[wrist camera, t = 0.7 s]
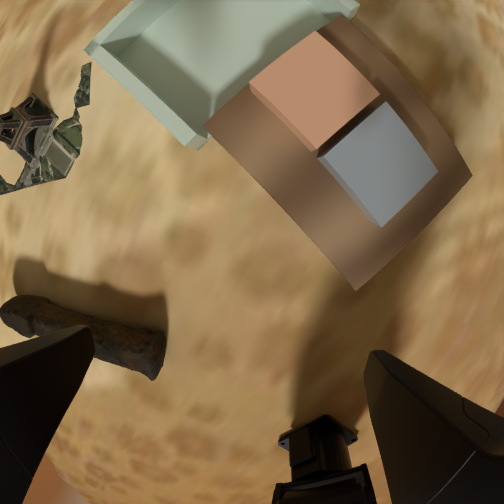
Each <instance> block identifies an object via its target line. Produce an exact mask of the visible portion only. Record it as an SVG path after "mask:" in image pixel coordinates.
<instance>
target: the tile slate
mask: <svg viewBox="0 0 504 504" xmlns="http://www.w3.org/2000/svg"><path fill="white" fill-rule="evenodd" d="M317 159H318V160H319V161H320V162H321V163H322V164H323V165H324V167H325V168H326V169H327V170H328V171H329V172H330V173H331V175H332V176H333V177H334V178H335V179H336V180H337V181H338V183H339V184H340V185H341V186H342V187H343V189H344V190H345V191H346V192H347V193H348V195H349V196H350V197H351V198H352V199H353V201H354V202H355V203H356V204H357V206H358V207H359V208H360V209H361V211H362V212H363V213H364V214H365V216H366V217H367V218H368V219H369V221H370V222H372V223H374V224H376V225H378V226H380V227H383V226H384V225H385V224H386V223H387V222H388V221H389V220H390V219H391V218H392V217H393V216H394V215H395V214H396V213H397V212H399V211H400V210H401V209H402V208H403V207H404V206H405V205H406V204H407V203H408V202H409V201H410V200H411V199H412V198H413V197H414V196H415V195H416V194H417V193H418V192H419V191H420V190H421V189H422V188H423V187H424V186H425V185H426V184H427V183H428V182H429V181H430V180H431V179H432V178H433V177H434V176H435V174H436V173H437V172H438V171H437V169H436V167H435V166H434V164H433V163H432V161H431V160H430V158H429V157H428V155H427V154H426V152H425V151H424V150H423V148H422V147H421V145H420V144H419V142H418V141H417V140H416V138H415V137H414V136H413V134H412V133H411V132H410V130H409V129H408V128H407V126H406V125H405V124H404V122H403V121H402V120H401V119H400V117H399V116H398V115H397V114H396V112H395V111H394V110H393V109H392V108H391V106H390V105H389V104H388V103H387V102H386V101H385V102H384V103H382V104H380V105H378V106H376V107H375V108H373V109H372V110H371V111H370V112H369V113H367V114H366V115H365V116H364V117H363V118H362V119H361V120H359V121H358V122H357V123H356V124H355V125H354V126H353V127H351V128H350V129H349V130H348V131H347V132H346V133H345V134H343V135H342V136H341V137H340V138H339V139H338V140H337V141H336V142H334V143H333V144H332V145H331V146H330V147H329V148H328V149H327V150H325V151H324V152H323V153H322V154H321V155H320V156H319V157H318V158H317Z"/></svg>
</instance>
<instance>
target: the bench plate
mask: <svg viewBox="0 0 504 504" xmlns="http://www.w3.org/2000/svg"><path fill="white" fill-rule="evenodd" d="M316 32H318V33H319V34H320V35H321V36H322V37H323V38H324V39H326V40H327V41H328V42H329V43H330V44H331V45H332V46H333V47H335V48H336V49H337V50H338V51H339V52H340V53H341V54H342V55H343V56H344V57H345V58H346V59H347V60H348V61H349V62H350V63H351V64H352V65H353V66H354V67H355V68H356V69H357V70H358V71H359V72H360V73H361V74H362V75H363V76H364V77H365V78H366V79H367V80H368V81H369V82H370V83H371V85H372V86H373V87H374V88H375V89H376V90H377V91H378V92H379V93H380V95H378V96H377V97H376V98H375V99H374V100H373V101H371V102H370V103H369V104H368V105H367V106H366V107H364V108H363V109H362V110H361V111H360V112H359V113H357V114H356V115H355V116H354V117H353V118H352V119H350V120H349V121H348V122H347V123H346V124H345V125H344V126H342V127H341V128H340V129H339V130H338V131H337V132H336V133H334V134H333V135H332V136H331V137H330V138H329V139H328V140H326V141H325V142H324V143H323V144H322V145H321V146H320V147H319V148H317V149H316V150H314V151H312V152H311V151H310V150H309V149H308V148H307V147H306V146H305V145H304V144H303V143H302V142H301V140H300V139H299V138H298V137H297V136H296V135H295V134H294V133H293V132H292V131H291V130H290V129H289V128H288V127H287V126H286V125H285V124H284V123H283V122H282V121H281V120H280V119H279V118H278V117H277V116H276V115H275V114H274V113H273V112H272V111H271V110H270V109H269V108H268V107H267V106H266V105H265V104H264V103H262V102H261V101H260V100H259V99H258V98H257V97H256V96H255V95H254V94H253V93H252V92H251V90H250V85H249V83H248V84H247V85H246V86H245V87H244V88H243V89H241V90H240V91H239V92H238V93H237V94H236V95H235V96H234V97H232V98H231V99H230V100H229V101H228V102H227V103H226V104H225V105H224V106H223V107H221V108H220V109H219V110H218V111H217V112H216V113H215V114H214V115H213V116H212V117H211V118H210V119H209V120H208V121H207V122H206V123H205V124H204V125H203V126H202V127H203V128H204V129H205V130H206V131H207V132H208V133H209V134H210V135H211V136H212V137H213V138H214V139H215V140H216V141H217V142H218V143H219V144H220V145H222V146H223V147H224V148H225V149H226V150H227V151H228V152H229V153H230V154H231V155H232V156H233V157H234V158H235V159H236V160H237V161H238V163H239V164H240V165H241V166H242V167H243V168H244V169H245V170H246V171H247V172H248V173H249V174H250V175H251V176H252V177H253V178H254V179H255V180H256V181H257V182H258V183H259V184H260V185H261V186H262V187H263V188H264V189H265V190H266V191H267V192H268V193H269V195H270V196H271V197H272V198H273V199H274V200H275V201H276V202H277V203H278V204H279V205H280V206H281V207H282V208H283V209H284V210H285V212H286V213H287V214H288V215H289V216H290V217H291V218H292V219H293V220H294V221H295V222H296V224H297V225H298V226H299V227H300V228H301V229H302V230H303V231H304V232H305V233H306V235H307V236H308V237H309V238H310V239H311V240H312V241H313V242H314V243H315V245H316V246H317V247H318V248H319V249H320V250H321V251H322V252H323V254H324V255H325V256H326V257H327V258H328V259H329V260H330V262H331V263H332V264H333V265H334V266H335V267H336V268H337V270H338V271H339V272H340V273H341V274H342V275H343V277H344V278H345V279H346V280H347V281H348V282H349V284H350V285H351V286H352V287H353V288H354V289H355V291H357V290H358V289H359V288H360V287H362V286H363V285H364V284H365V283H366V282H367V281H368V280H370V279H371V278H372V277H373V276H374V275H375V274H376V273H377V272H379V271H380V270H381V269H382V268H383V267H384V266H385V265H386V264H387V263H388V262H389V261H391V260H392V259H393V258H394V257H395V256H396V255H397V254H398V253H399V252H400V251H401V250H402V249H403V248H404V247H405V246H406V245H407V244H409V243H410V242H411V241H412V240H413V239H414V238H415V237H416V236H417V235H418V234H419V233H420V232H421V231H422V230H423V229H424V228H425V227H426V226H427V225H428V224H429V223H430V222H431V221H432V220H433V219H434V217H435V216H436V215H437V214H438V213H439V212H440V211H441V210H442V209H443V208H444V207H445V206H446V205H447V204H448V203H449V202H450V201H451V199H452V198H453V197H454V196H455V195H456V194H457V193H458V192H459V191H460V189H461V188H462V187H463V186H464V185H465V184H466V183H467V182H468V180H469V179H470V178H471V177H472V174H471V172H470V170H469V168H468V167H467V165H466V163H465V161H464V160H463V158H462V156H461V155H460V153H459V151H458V150H457V148H456V146H455V145H454V143H453V142H452V140H451V138H450V137H449V135H448V134H447V132H446V131H445V129H444V128H443V126H442V125H441V123H440V122H439V121H438V119H437V118H436V116H435V115H434V114H433V112H432V111H431V109H430V108H429V107H428V105H427V104H426V103H425V101H424V100H423V99H422V98H421V96H420V95H419V94H418V93H417V91H416V90H415V89H414V88H413V86H412V85H411V84H410V83H409V82H408V80H407V79H406V78H405V77H404V76H403V75H402V73H401V72H400V71H399V70H398V69H397V68H396V67H395V66H394V64H393V63H392V62H391V61H390V60H389V59H388V58H387V57H386V56H385V55H384V54H383V53H382V52H381V51H380V50H379V49H378V48H377V47H376V46H375V45H374V44H373V43H372V42H371V41H370V40H369V39H368V38H367V37H366V36H365V35H364V34H363V33H362V32H361V31H360V30H359V29H358V28H356V27H355V26H354V25H353V24H352V23H351V22H350V21H349V20H347V19H346V18H345V17H344V16H343V15H342V14H341V15H340V16H338V17H337V18H335V19H334V20H332V21H330V22H329V23H327V24H326V25H324V26H323V27H321V28H320V29H319V30H317V31H316ZM385 101H386V102H387V103H388V104H389V105H390V106H391V108H392V109H393V110H394V111H395V112H396V114H397V115H398V116H399V117H400V119H401V120H402V121H403V122H404V124H405V125H406V126H407V128H408V129H409V130H410V132H411V133H412V134H413V136H414V137H415V138H416V140H417V141H418V142H419V144H420V145H421V147H422V148H423V150H424V151H425V152H426V154H427V155H428V157H429V158H430V160H431V161H432V163H433V164H434V166H435V167H436V169H437V171H438V172H437V173H436V174H435V176H434V177H433V178H432V179H431V180H430V181H429V182H428V183H427V184H426V185H425V186H424V187H423V188H422V189H421V190H420V191H419V192H418V193H417V194H416V195H415V196H414V197H413V198H412V199H411V200H410V201H409V202H408V203H407V204H406V205H405V206H404V207H403V208H402V209H401V210H400V211H399V212H397V213H396V214H395V215H394V216H393V217H392V218H391V219H390V220H389V221H388V222H387V223H386V224H385V225H384V226H383V227H380V226H378V225H376V224H374V223H372V222H370V221H369V219H368V218H367V217H366V216H365V214H364V213H363V212H362V211H361V209H360V208H359V207H358V206H357V204H356V203H355V202H354V201H353V199H352V198H351V197H350V196H349V195H348V193H347V192H346V191H345V190H344V189H343V187H342V186H341V185H340V184H339V183H338V181H337V180H336V179H335V178H334V177H333V176H332V175H331V173H330V172H329V171H328V170H327V169H326V168H325V167H324V165H323V164H322V163H321V162H320V161H319V160H318V159H317V158H318V157H319V156H320V155H321V154H322V153H323V152H324V151H325V150H327V149H328V148H329V147H330V146H331V145H332V144H333V143H334V142H336V141H337V140H338V139H339V138H340V137H341V136H342V135H343V134H345V133H346V132H347V131H348V130H349V129H350V128H351V127H353V126H354V125H355V124H356V123H357V122H358V121H359V120H361V119H362V118H363V117H364V116H365V115H366V114H367V113H369V112H370V111H371V110H372V109H373V108H375V107H376V106H378V105H380V104H382V103H384V102H385Z"/></svg>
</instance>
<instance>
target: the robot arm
mask: <svg viewBox="0 0 504 504" xmlns="http://www.w3.org/2000/svg"><path fill="white" fill-rule="evenodd" d="M95 350H96V349H95V343H94V339H93V335H92V331H91V328H90V327H88V326H84V325H76V326H73V327H70V328H67V329H63V330H60V331H57V332H53V333H50V334H47V335H43V336H40V337H37V338H33V339H30V340H27V341H23V342H20V343H17V344H13V345H10V346H6V347H3V348H0V504H22V503H23V501H24V498H25V496H26V494H27V491H28V489H29V487H30V484H31V482H32V480H33V479H32V478H33V477H34V475H35V473H36V471H37V468H38V466H39V464H40V462H41V460H42V458H43V456H44V454H45V452H46V450H47V448H48V446H49V444H50V442H51V440H52V438H53V436H54V434H55V432H56V430H57V428H58V426H59V424H60V422H61V420H62V419H63V417H64V415H65V413H66V411H67V409H68V408H69V406H70V404H71V402H72V400H73V399H74V397H75V395H76V393H77V391H78V390H79V388H80V386H81V384H82V381H83V379H84V377H85V375H86V372H87V370H88V368H89V366H90V363H91V361H92V359H93V357H94V355H95ZM364 382H365V388H366V394H367V400H368V406H369V413H370V418H371V422H372V426H373V429H374V433H375V436H376V440H377V444H378V447H379V451H380V455H381V459H382V463H383V467H384V471H385V475H386V479H387V484H388V488H389V492H390V497H391V501H392V504H504V417H502V416H500V415H497V414H495V413H493V412H491V411H489V410H487V409H485V408H483V407H481V406H479V405H477V404H475V403H474V402H472V401H470V400H468V399H467V398H465V397H463V398H462V396H461V395H460V394H458V393H456V392H454V391H453V390H451V389H449V388H447V387H446V386H444V385H442V384H440V383H439V382H437V381H435V380H434V379H432V378H430V377H428V376H427V375H425V374H423V373H422V372H420V371H418V370H416V369H415V368H413V367H411V366H410V365H408V364H406V363H405V362H403V361H401V360H400V359H398V358H396V357H394V356H393V355H391V354H389V353H388V352H386V351H384V350H373V351H371V352H370V354H369V357H368V360H367V364H366V367H365V371H364ZM357 440H358V437H357V435H355V434H354V433H352V432H351V431H350V430H348V429H347V428H345V427H344V426H343V425H341V424H340V423H338V422H337V421H336V420H334V419H333V418H332V417H330V416H329V415H324V416H322V417H320V418H319V419H317V420H315V421H313V422H312V423H310V424H308V425H306V426H304V427H303V428H301V429H299V430H297V431H295V432H293V433H291V434H289V435H287V436H285V437H284V438H282V439H280V440H279V441H278V445H279V446H281V447H283V448H284V449H286V450H288V451H289V462H290V466H291V477H292V482H288V483H276V487H275V490H274V493H273V499H272V504H377V502H376V497H375V493H374V489H373V486H372V482H371V479H370V475H369V472H368V468H367V465H366V463H365V464H361V466H358V467H354V468H352V465H351V460H350V456H349V451H348V447H347V446H349V445H350V444H352V443H354V442H356V441H357Z"/></svg>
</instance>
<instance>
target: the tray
mask: <svg viewBox="0 0 504 504" xmlns="http://www.w3.org/2000/svg"><path fill="white" fill-rule="evenodd" d="M359 6H360V4H359V3H357V2H356V1H355V0H133V1H131V2H130V3H129V4H128V5H127V6H126V7H125V8H124V9H123V10H122V11H120V12H119V13H118V14H117V15H116V16H115V17H114V18H113V19H112V20H111V21H110V22H109V23H108V24H107V25H106V26H105V27H104V28H103V29H102V30H101V31H100V32H99V33H98V35H97V36H96V37H95V38H94V39H93V40H92V41H91V42H90V43H89V44H88V46H87V47H86V48H85V49H84V51H85V52H86V53H88V54H89V55H90V56H91V57H92V58H93V59H94V60H95V61H96V62H97V63H98V64H99V65H100V66H102V67H103V68H104V69H105V70H106V71H107V72H108V73H109V74H110V75H111V76H112V77H113V78H114V79H115V80H117V81H118V82H119V83H120V84H121V85H122V86H123V87H124V88H125V89H126V90H127V91H128V92H129V93H130V94H131V95H132V96H133V97H134V98H135V99H136V100H138V101H139V102H140V103H141V104H142V105H143V106H144V107H145V108H146V109H147V110H148V111H149V112H150V113H151V114H152V115H153V116H154V117H155V118H156V119H157V120H158V121H159V122H160V123H161V124H162V125H163V126H164V127H165V128H166V129H167V130H168V131H169V132H170V133H171V134H172V135H173V136H174V137H176V138H177V139H178V140H179V141H180V142H181V143H182V144H183V145H184V146H185V147H188V148H192V149H196V150H199V149H200V148H201V147H202V146H203V145H204V144H205V143H206V142H207V141H208V140H209V139H210V138H211V137H212V136H211V135H210V134H209V133H208V132H207V131H206V130H205V129H204V128H203V127H202V126H203V125H204V124H205V123H206V122H207V121H208V120H209V119H210V118H211V117H212V116H213V115H214V114H215V113H216V112H217V111H218V110H219V109H220V108H221V107H223V106H224V105H225V104H226V103H227V102H228V101H229V100H230V99H231V98H232V97H234V96H235V95H236V94H237V93H238V92H239V91H240V90H241V89H243V88H244V87H245V86H246V85H247V84H248V83H249V81H250V80H252V79H253V78H254V77H255V76H256V75H258V74H259V73H260V72H261V71H262V70H264V69H265V68H266V67H267V66H269V65H270V64H271V63H272V62H274V61H275V60H276V59H277V58H279V57H280V56H281V55H283V54H284V53H285V52H287V51H288V50H289V49H290V48H292V47H293V46H295V45H296V44H297V43H299V42H300V41H301V40H303V39H304V38H306V37H307V36H308V35H310V34H311V33H313V32H314V31H317V30H319V29H320V28H321V27H323V26H324V25H326V24H327V23H329V22H330V21H332V20H334V19H335V18H337V17H338V16H340V15H341V14H342V15H343V16H344V17H345V18H346V19H347V20H349V21H350V22H351V20H352V18H353V16H354V15H355V13H356V11H357V10H358V8H359Z"/></svg>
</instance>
